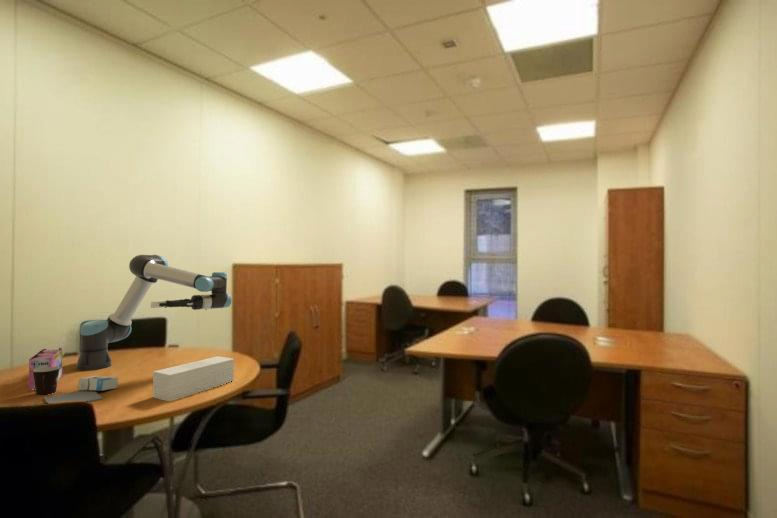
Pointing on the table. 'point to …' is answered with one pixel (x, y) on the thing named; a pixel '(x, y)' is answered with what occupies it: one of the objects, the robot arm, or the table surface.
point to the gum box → (44, 363)
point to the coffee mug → (46, 380)
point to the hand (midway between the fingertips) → (151, 304)
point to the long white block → (192, 378)
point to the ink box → (97, 383)
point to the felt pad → (75, 397)
